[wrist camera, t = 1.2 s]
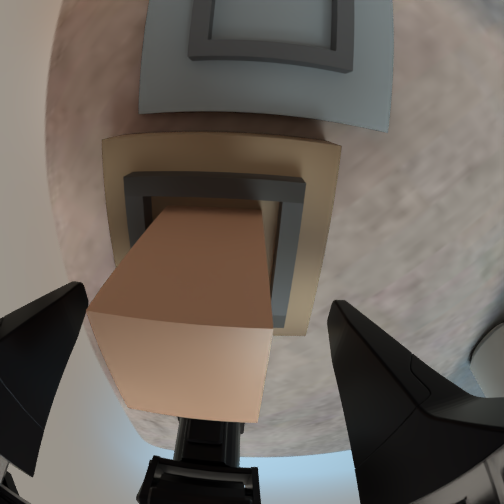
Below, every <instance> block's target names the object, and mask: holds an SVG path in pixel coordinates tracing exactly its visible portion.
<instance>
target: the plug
mask: <svg viewBox="0 0 504 504" xmlns="http://www.w3.org/2000/svg"><path fill="white" fill-rule="evenodd" d="M86 313H87V316H88V319H89V321H90V324H91V327H92V330H93V332H94V335H95V337H96V340H97V342H98V345H99V347H100V350H101V352H102V355H103V357H104V359H105V362H106V364H107V366H108V368H109V371H110V373H111V375H112V377H113V379H114V381H115V383H116V385H117V387H118V389H119V391H120V393H121V395H122V397H123V399H124V401H125V403H126V405H127V407H128V408H132V409H137V410H142V411H147V412H152V413H158V414H164V415H170V416H177V417H185V418H193V419H202V420H213V421H226V422H247V423H257V422H258V417H259V412H260V406H261V401H262V395H263V389H264V384H265V378H266V372H267V366H268V360H269V354H270V348H271V342H272V335H273V318H272V307H271V297H270V286H269V276H268V266H267V256H266V246H265V237H264V227H263V217H262V210H257V209H240V208H220V207H196V206H166V207H165V208H164V210H163V211H162V212H161V213H160V214H159V215H158V217H157V218H156V219H155V220H154V221H153V222H152V224H151V225H150V226H149V227H148V228H147V230H146V231H145V232H144V233H143V234H142V236H141V237H140V238H139V239H138V241H137V242H136V243H135V244H134V246H133V247H132V248H131V249H130V251H129V252H128V253H127V254H126V256H125V257H124V258H123V260H122V261H121V262H120V264H119V265H118V266H117V267H116V269H115V270H114V271H113V273H112V274H111V275H110V277H109V278H108V280H107V281H106V282H105V284H104V285H103V286H102V288H101V289H100V291H99V292H98V293H97V295H96V296H95V298H94V299H93V301H92V302H91V303H90V305H89V306H88V308H87V309H86Z"/></svg>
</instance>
